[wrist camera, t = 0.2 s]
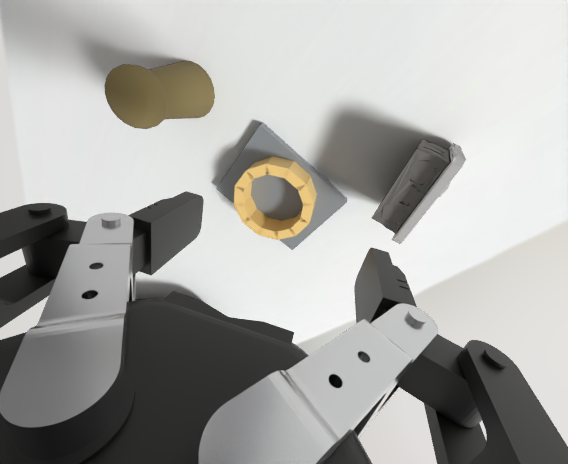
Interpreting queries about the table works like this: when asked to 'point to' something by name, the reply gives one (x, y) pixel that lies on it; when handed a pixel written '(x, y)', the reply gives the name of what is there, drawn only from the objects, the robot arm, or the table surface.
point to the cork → (159, 93)
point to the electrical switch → (418, 187)
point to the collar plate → (279, 190)
